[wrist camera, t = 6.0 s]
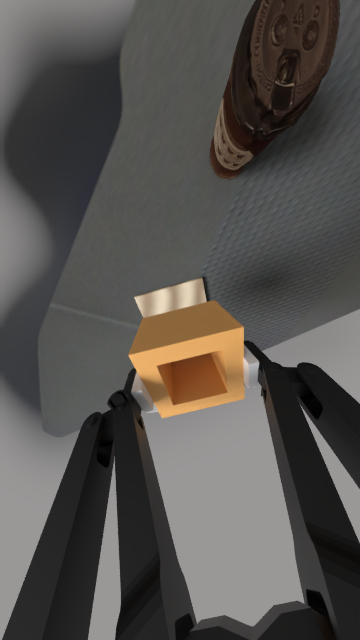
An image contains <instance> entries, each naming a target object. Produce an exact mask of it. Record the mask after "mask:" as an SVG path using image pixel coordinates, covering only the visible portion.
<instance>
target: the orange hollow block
mask: <svg viewBox="0 0 360 640" xmlns="http://www.w3.org/2000/svg"><path fill="white" fill-rule="evenodd" d="M128 356H129V358H130V359H131V361H132V363H133V365H134V367H135V369H136V371H137V372H138V374H139V376H140V378H141V380H142V382H143V383H144V385H145V387H146V389H147V391H148V393H149V395H150V396H151V398H152V400H153V402H154V404H155V406H156V408H157V410H158V411H159V413H160V415H161V417H162V418H165V417H169V416H174V415H177V414H182V413H186V412H190V411H195V410H199V409H203V408H208V407H212V406H216V405H220V404H225V403H229V402H233V401H237V400H241V399H244V398H245V397H244V365H243V357H244V327H243V326H242V325H241V324H240V323H239V322H238V321H237V320H235V319H234V318H233V317H232V316H231V315H230V314H229V313H228V312H227V311H226V310H225V309H223V308H222V307H221V306H220V305H219V304H218V303H217V302H216V301H215V300H213V301H209V302H205V303H201V304H197V305H193V306H189V307H185V308H181V309H177V310H173V311H169V312H165V313H161V314H158V315H154V316H150V317H146V318H143V319H142V322H141V324H140V327H139V329H138V332H137V334H136V337H135V340H134V342H133V345H132V347H131V350H130V352H129V355H128Z"/></svg>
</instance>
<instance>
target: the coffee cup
mask: <svg viewBox="0 0 360 640" xmlns="http://www.w3.org/2000/svg"><path fill="white" fill-rule="evenodd" d="M339 10H340V3H339V0H256V1H255V2H254V4H253V6H252V8H251V9H250V11H249V13H248V15H247V17H246V19H245V22H244V25H243V27H242V30H241V33H240V36H239V40H238V43H237V46H236V50H235V53H234V57H233V62H232V67H231V71H230V76H229V79H228V82H227V86H226V89H225V92H224V95H223V98H222V102H221V106H220V110H219V113H218V116H217V120H216V124H215V131H214V136H213V139H212V143H211V148H210V162H211V166H212V168H213V171H214V172H215V174H216V175H217V176H219V177H220V178H222V179H227V180H229V179H231V178H235V177H236V176H237V175H238V174H239V172H240V171H241V170H242V169H243V167H244V165H245V164H247V163H248V162H249V161H250V160H251V159H252V158H253V157H255V156H256V155H258V154H259V153H260V152H261V151H263V150H264V149H265V148H266V146H267V145H268V144H269V143H270V142H271V141H272V140H273V139H274V138H275V137H276V136H277V135H278V134H280V133H282V132H284V131H285V130H286V129H287V128H289V127H290V126H293V125H294V124H295V123H296V122H297V120H298V119H299V118H300V117H301V115H302V114H303V113H304V111H305V110H307V108H308V106H309V105H310V103H311V101H312V100H313V98H314V96H315V95H316V93H317V90H318V88H319V85H320V83H321V80H322V78H323V77H324V76H325V75H326V74H327V72H328V69H329V67H330V64H331V60H332V57H333V54H334V49H335V44H336V39H337V33H338V27H339V16H340V12H339Z"/></svg>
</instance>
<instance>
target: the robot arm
mask: <svg viewBox="0 0 360 640" xmlns="http://www.w3.org/2000/svg"><path fill="white" fill-rule="evenodd" d="M243 365H244V382H245V384H246V385H247V387H248V388H252V387H256V386H258V382H259V384H260V385H261V386H262V388H261V389H262V390H261V396H263V399H264V404H265V408H266V413H267V418H268V422H269V427H270V432H271V437H272V441H273V446H274V450H275V454H276V460H277V464H278V469H279V473H280V478H281V483H282V487H283V492H284V497H285V501H286V506H287V511H288V515H289V520H290V525H291V529H292V534H293V539H294V548H295V557H296V563H297V568H298V573H299V578H300V583H301V588H302V593H303V597H304V602H305V604H303V603H301V602H299V601H294V602H289V603H284V604H279V605H274V606H273V607H272V608H271V609H270V610H269V611H268V612H267V613H266V614H265V615H264V616H263V617H262V619H261V620H260V621H259V622H258V623H257V624H256V625H255V626H253V627H251V626H249V625H246V624H244V623H242V622H239V621H237V620H234V619H232V618H230V617H228V616H225V615H224V616H218V617H213V618H208V619H204V620H201V621H200V622H199V623H198V624H197V622H196V618H195V614H194V611H193V607H192V603H191V599H190V595H189V591H188V588H187V584H186V581H185V578H184V575H183V573H182V571H181V568H180V565H179V562H178V559H177V556H176V551H175V547H174V543H173V540H172V535H171V531H170V527H169V523H168V519H167V515H166V511H165V507H164V503H163V499H162V495H161V491H160V487H159V483H158V479H157V475H156V471H155V467H154V463H153V459H152V455H151V451H150V447H149V443H148V439H147V435H146V431H145V427H144V423H143V419H142V417H141V410H142V411H143V412H144V413H147V412H151V411H153V404H154V402H153V400H152V398H151V396H150V395H149V393H148V391H147V389H146V387H145V385H144V383H143V382H142V380H141V378H140V376H139V374H138V372H137V371H136V369H135V368H134V369H132V370H131V371H130V373H129V374H128V378H127V381H126V384H125V387H124V390H119V391H116V392H115V393H114V394H112V395H111V397H110V398H109V400H108V403H107V404H108V406H109V407H110V408H111V410H109V411H107V412H105V413H103V414H101V413H100V412H95V413H93V414H91V415H90V416H89V417H88V418H87V419H86V420H85V421H84V423H83V425H82V427H81V430H80V433H79V435H78V438H77V441H76V443H75V446H74V449H73V451H72V454H71V457H70V459H69V462H68V465H67V468H66V470H65V473H64V475H63V479H62V481H61V483H60V486H59V489H58V491H57V494H56V497H55V500H54V502H53V505H52V508H51V510H50V513H49V515H48V518H47V521H46V524H45V526H44V529H43V532H42V534H41V537H40V540H39V542H38V545H37V548H36V550H35V553H34V556H33V558H32V561H31V564H30V566H29V569H28V572H27V575H26V577H25V580H24V582H23V585H22V588H21V591H20V593H19V596H18V599H17V601H16V604H15V606H14V609H13V612H12V614H11V617H10V620H9V623H8V625H7V628H6V631H5V634H4V636H3V639H2V640H88V634H89V626H90V619H91V613H92V606H93V600H94V592H95V586H96V579H97V572H98V565H99V559H100V552H101V545H102V538H103V530H104V524H105V518H106V510H107V504H108V497H109V489H110V483H111V477H112V469H113V463H114V456H115V473H116V492H117V493H116V495H117V517H118V537H119V560H120V582H121V608H120V609H121V610H120V614H119V618H118V622H117V628H116V637H115V640H360V543H359V541H358V538H357V536H356V534H355V532H354V529H353V527H352V525H351V522H350V520H349V518H348V515H347V513H346V510H345V508H344V506H343V504H342V501H341V499H340V497H339V494H338V492H337V490H336V487H335V485H334V483H333V480H332V478H331V476H330V474H329V471H328V469H327V467H326V464H325V462H324V459H323V457H322V455H321V452H320V450H319V448H318V446H317V443H316V441H315V439H314V436H313V434H312V432H311V429H310V427H309V425H308V422H307V420H306V418H305V415H304V413H303V411H302V408H303V409H304V411H305V412H306V413H307V415H308V416H309V418H310V419H311V421H312V422H313V423H314V424H315V426H316V428H317V429H318V430H319V432H320V433H321V435H322V436H323V438H324V439H325V440H326V442H327V443H328V445H329V446H330V447H331V449H332V450H333V452H334V453H335V454H336V456H337V457H338V459H339V460H340V462H341V463H342V464H343V466H344V467H345V469H346V470H347V472H348V473H349V474H350V476H351V477H352V479H353V480H354V481H355V483H356V484H357V486H358V487H359V488H360V404H359V403H358V402H357V401H356V400H355V399H354V398H353V397H352V396H351V395H349V394H348V393H347V392H346V391H345V390H344V389H343V388H342V387H341V386H339V385H338V384H337V383H336V382H335V381H334V380H333V379H332V378H331V377H330V376H329V375H327V374H326V373H325V372H324V371H323V370H322V369H321V368H319V367H318V366H316V365H314V364H311V363H305V362H302V363H299V364H298V365H297V368H296V367H295V368H294V367H282V366H281V365H280V364H278V363H275V362H271V360H269V358H268V357H267V356H266V355H265V354H264V353H263V352H262V351H261V350H260V349H259V348H258V347H257V346H256V345H255V344H254V343H252V342H250V341H248V340H247V341H244V357H243ZM300 405H301V406H302V408H301V406H300Z"/></svg>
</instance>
